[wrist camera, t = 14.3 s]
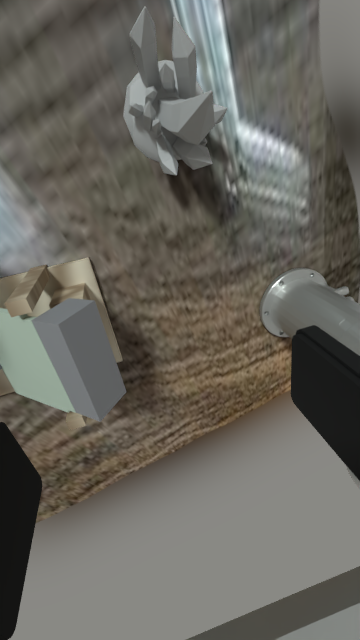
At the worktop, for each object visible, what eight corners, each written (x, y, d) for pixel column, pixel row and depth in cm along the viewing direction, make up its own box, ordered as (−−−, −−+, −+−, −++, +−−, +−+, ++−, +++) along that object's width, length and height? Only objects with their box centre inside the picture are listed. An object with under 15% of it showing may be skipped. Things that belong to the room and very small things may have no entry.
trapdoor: (93, 296, 30) (55, 320, 27) (127, 394, 37) (101, 424, 33) (3, 288, 38) (-36, 306, 35) (44, 370, 45) (16, 393, 41)
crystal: (173, 16, 30) (227, -103, 17) (222, 146, 37) (289, 130, 24) (93, 68, 31) (88, -11, 18) (156, 187, 37) (186, 194, 24)
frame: (88, 254, 39) (83, 284, 28) (123, 359, 47) (129, 412, 37) (-98, 298, 36) (-180, 348, 25) (-25, 401, 44) (-64, 471, 34)
